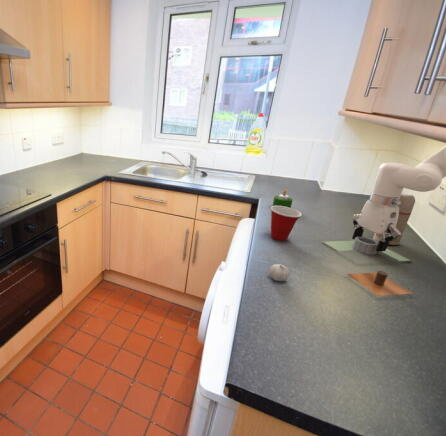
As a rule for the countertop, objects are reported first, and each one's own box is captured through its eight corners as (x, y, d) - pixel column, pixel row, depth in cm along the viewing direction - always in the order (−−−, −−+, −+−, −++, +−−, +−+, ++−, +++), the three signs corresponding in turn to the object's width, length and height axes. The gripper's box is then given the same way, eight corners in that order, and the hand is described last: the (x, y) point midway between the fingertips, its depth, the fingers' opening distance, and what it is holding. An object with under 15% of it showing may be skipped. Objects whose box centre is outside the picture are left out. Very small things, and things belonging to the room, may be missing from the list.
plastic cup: (295, 246, 111) (304, 216, 106) (264, 240, 115) (270, 211, 111) (293, 235, 120) (301, 207, 116) (264, 230, 124) (270, 203, 120)
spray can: (366, 236, 121) (383, 189, 113) (386, 237, 120) (405, 189, 113) (382, 245, 113) (402, 195, 105) (404, 246, 112) (425, 196, 105)
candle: (268, 207, 151) (273, 188, 147) (276, 204, 156) (281, 186, 152) (285, 212, 145) (290, 192, 141) (293, 209, 150) (298, 190, 146)
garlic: (287, 286, 87) (291, 271, 85) (267, 281, 89) (270, 266, 87) (287, 276, 92) (291, 262, 90) (268, 271, 94) (272, 257, 92)
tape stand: (377, 274, 94) (381, 262, 92) (412, 295, 84) (418, 282, 82) (345, 276, 93) (349, 264, 91) (378, 298, 82) (383, 284, 81)
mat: (368, 240, 117) (369, 239, 117) (410, 261, 102) (410, 260, 102) (322, 242, 114) (322, 241, 114) (357, 264, 100) (358, 262, 100)
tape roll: (364, 245, 112) (367, 236, 110) (381, 254, 105) (385, 244, 104) (347, 246, 111) (350, 236, 109) (363, 255, 105) (367, 245, 103)
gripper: (420, 207, 93) (401, 255, 99) (370, 192, 109) (356, 234, 115) (399, 208, 92) (381, 256, 98) (352, 192, 108) (339, 235, 114)
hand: (367, 244), depth 107 cm, fingers open, 9 cm apart
